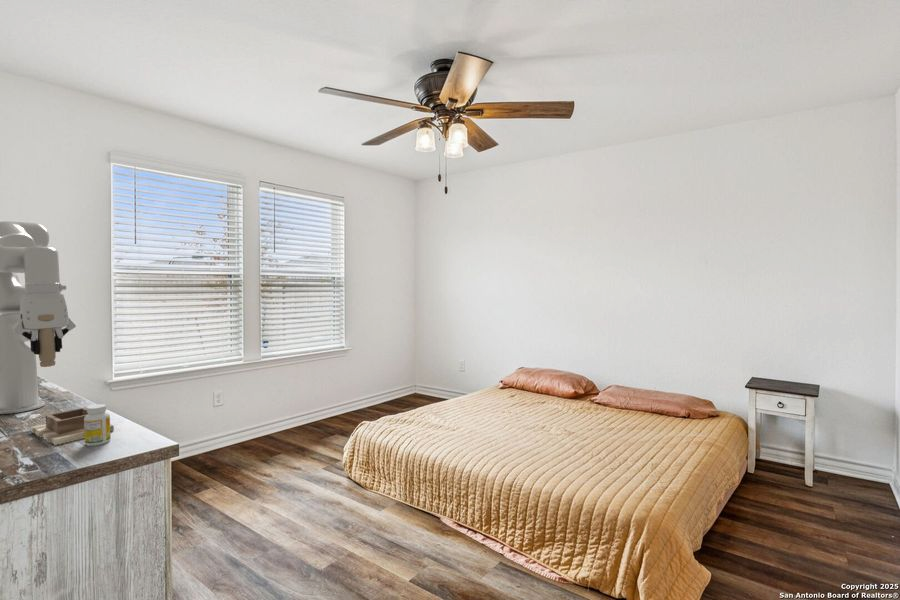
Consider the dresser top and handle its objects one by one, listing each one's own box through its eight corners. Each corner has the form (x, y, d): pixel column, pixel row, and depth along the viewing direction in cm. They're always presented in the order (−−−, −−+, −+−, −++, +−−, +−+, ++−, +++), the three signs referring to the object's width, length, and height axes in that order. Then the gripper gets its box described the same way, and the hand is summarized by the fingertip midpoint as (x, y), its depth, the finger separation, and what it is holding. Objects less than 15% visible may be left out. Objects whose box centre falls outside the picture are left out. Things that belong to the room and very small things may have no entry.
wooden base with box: (32, 432, 127) (31, 414, 127) (88, 419, 138) (88, 403, 138) (54, 445, 117) (53, 426, 117) (113, 430, 128) (113, 413, 128)
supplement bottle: (93, 447, 116) (91, 410, 115) (80, 444, 118) (78, 408, 117) (115, 440, 121) (114, 404, 120) (102, 437, 123) (100, 402, 122)
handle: (36, 369, 129) (32, 316, 128) (37, 365, 134) (34, 314, 133) (58, 366, 132) (55, 314, 131) (58, 363, 137) (56, 313, 136)
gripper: (74, 289, 141) (77, 348, 142) (-1, 290, 127) (4, 356, 128) (83, 289, 136) (87, 349, 137) (7, 290, 123) (11, 358, 124)
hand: (47, 352), depth 133 cm, fingers closed on handle, 3 cm apart
